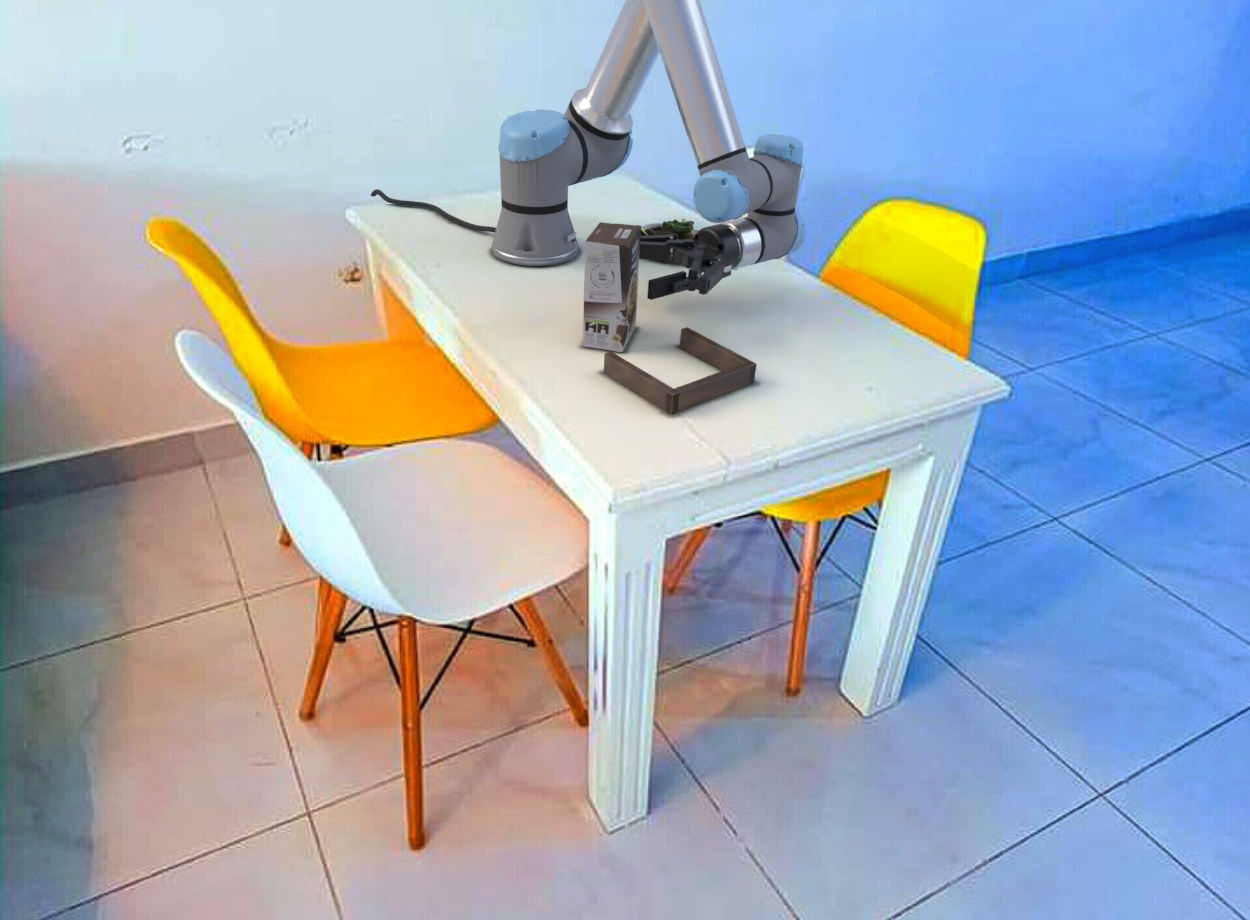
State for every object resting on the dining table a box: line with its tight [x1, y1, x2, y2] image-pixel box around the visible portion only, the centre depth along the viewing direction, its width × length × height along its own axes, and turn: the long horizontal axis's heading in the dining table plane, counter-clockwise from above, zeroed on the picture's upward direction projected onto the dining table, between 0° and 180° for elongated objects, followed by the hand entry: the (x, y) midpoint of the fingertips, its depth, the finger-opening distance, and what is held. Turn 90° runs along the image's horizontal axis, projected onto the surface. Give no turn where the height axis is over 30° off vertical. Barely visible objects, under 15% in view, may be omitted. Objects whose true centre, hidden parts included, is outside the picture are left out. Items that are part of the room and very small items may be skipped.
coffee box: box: [582, 221, 642, 353], centre depth 132 cm, size 9×6×16 cm
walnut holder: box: [603, 326, 757, 416], centre depth 126 cm, size 14×15×3 cm
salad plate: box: [635, 218, 700, 266], centre depth 170 cm, size 19×18×5 cm
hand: (619, 274), depth 133 cm, fingers open, 13 cm apart
